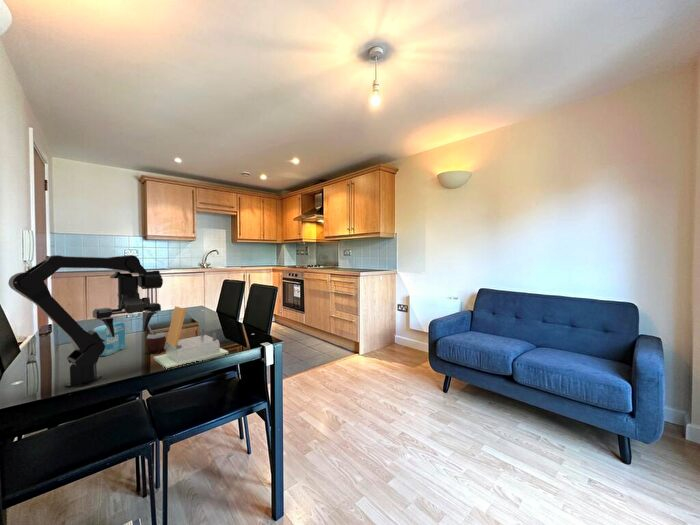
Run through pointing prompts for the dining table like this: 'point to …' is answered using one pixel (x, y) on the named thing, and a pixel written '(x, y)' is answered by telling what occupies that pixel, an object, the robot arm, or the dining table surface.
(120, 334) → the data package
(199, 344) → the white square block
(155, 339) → the mate gourd
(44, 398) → the dining table surface
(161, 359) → the board
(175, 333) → the thin wooden panel
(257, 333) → the dining table surface
